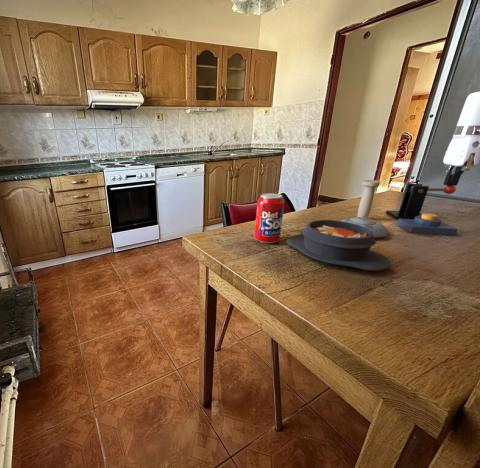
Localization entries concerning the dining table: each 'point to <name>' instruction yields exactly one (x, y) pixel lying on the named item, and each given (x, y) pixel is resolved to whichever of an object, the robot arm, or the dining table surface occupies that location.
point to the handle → (367, 197)
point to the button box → (427, 226)
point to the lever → (442, 189)
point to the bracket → (411, 202)
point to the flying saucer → (369, 225)
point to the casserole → (339, 245)
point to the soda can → (269, 218)
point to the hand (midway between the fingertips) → (449, 185)
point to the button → (428, 216)
